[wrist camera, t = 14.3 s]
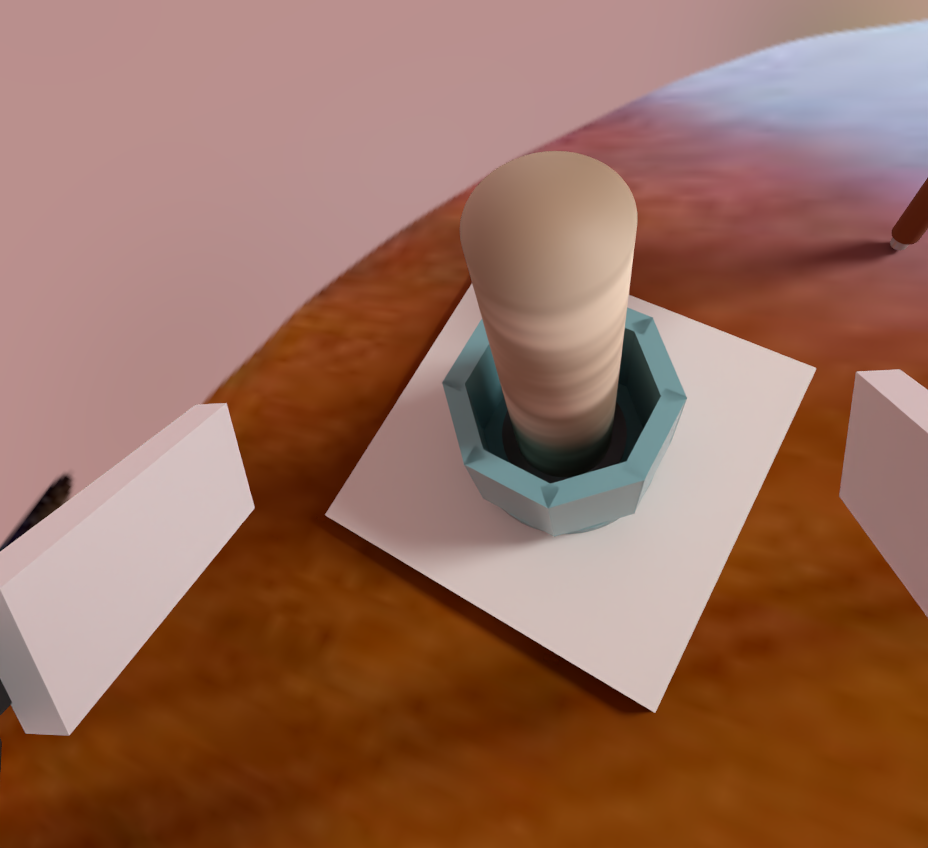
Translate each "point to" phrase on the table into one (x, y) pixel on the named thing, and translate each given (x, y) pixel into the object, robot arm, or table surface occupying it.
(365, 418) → the table surface
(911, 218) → the magnifying glass
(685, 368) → the octagonal cup on tile
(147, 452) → the robot arm
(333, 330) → the table surface
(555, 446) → the pillar candle on dish
